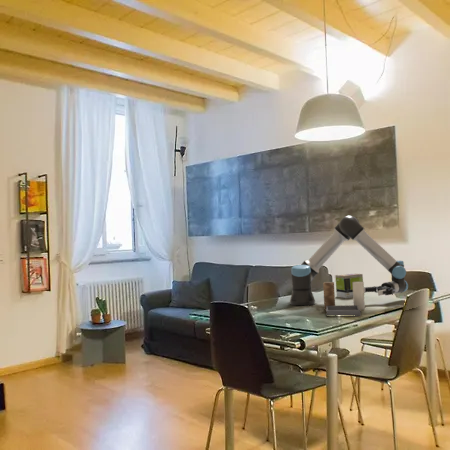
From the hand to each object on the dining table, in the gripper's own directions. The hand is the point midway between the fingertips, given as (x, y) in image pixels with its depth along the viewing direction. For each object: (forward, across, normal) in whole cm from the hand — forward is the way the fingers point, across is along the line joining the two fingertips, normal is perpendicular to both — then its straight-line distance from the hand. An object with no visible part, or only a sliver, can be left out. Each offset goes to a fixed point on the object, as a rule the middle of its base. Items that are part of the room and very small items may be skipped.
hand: (368, 292), depth 282 cm
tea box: (-30, +35, -9) cm, 47 cm away
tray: (+26, -1, -8) cm, 27 cm away
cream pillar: (+9, 0, -8) cm, 12 cm away
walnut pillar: (+18, +14, -8) cm, 24 cm away
